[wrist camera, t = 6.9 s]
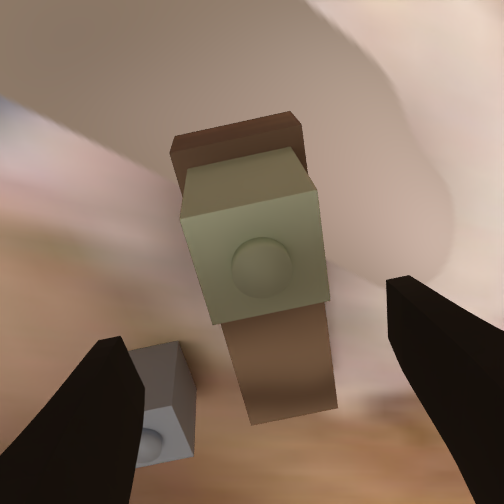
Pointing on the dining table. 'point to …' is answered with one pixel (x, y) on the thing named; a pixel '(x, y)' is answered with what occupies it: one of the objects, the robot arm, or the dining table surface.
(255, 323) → the walnut base brick
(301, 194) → the sage block
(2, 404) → the dining table surface
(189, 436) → the slate block
